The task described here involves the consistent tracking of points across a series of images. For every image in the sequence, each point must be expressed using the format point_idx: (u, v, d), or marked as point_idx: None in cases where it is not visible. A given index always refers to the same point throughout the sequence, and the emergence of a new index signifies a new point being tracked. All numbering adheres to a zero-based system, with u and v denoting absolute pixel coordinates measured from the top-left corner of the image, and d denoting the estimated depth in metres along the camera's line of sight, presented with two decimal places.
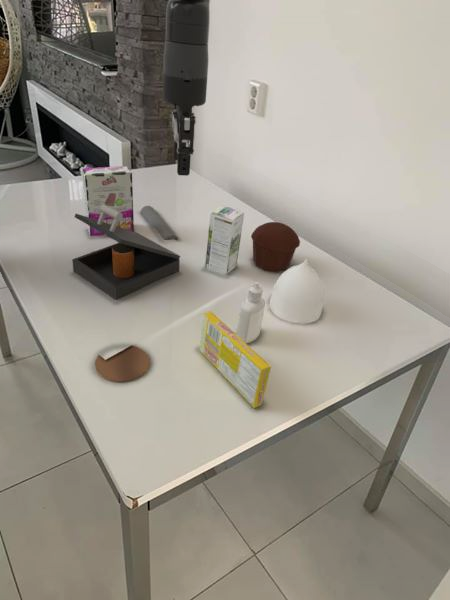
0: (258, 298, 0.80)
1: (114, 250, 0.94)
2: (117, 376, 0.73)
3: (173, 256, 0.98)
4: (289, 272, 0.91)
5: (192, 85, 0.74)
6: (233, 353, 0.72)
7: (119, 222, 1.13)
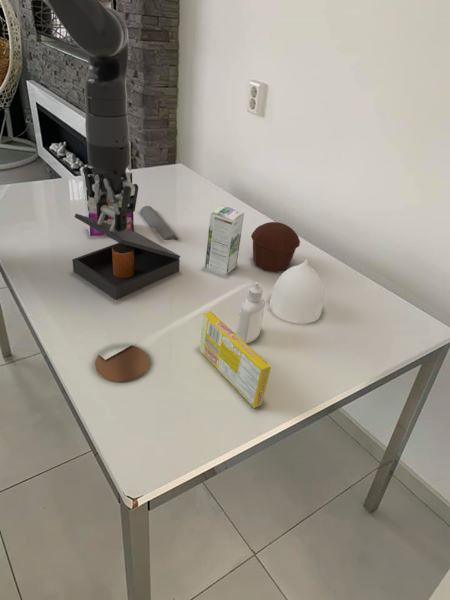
0: (258, 298, 0.80)
1: (114, 250, 0.94)
2: (117, 376, 0.73)
3: (173, 256, 0.98)
4: (289, 272, 0.91)
5: (125, 150, 0.81)
6: (233, 353, 0.72)
7: None
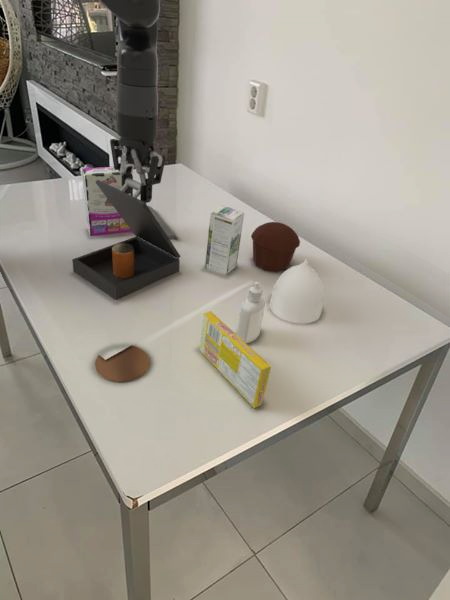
0: (258, 298, 0.80)
1: (114, 250, 0.94)
2: (117, 376, 0.73)
3: (175, 252, 0.98)
4: (289, 272, 0.91)
5: (154, 121, 0.83)
6: (233, 353, 0.72)
7: (119, 222, 1.13)
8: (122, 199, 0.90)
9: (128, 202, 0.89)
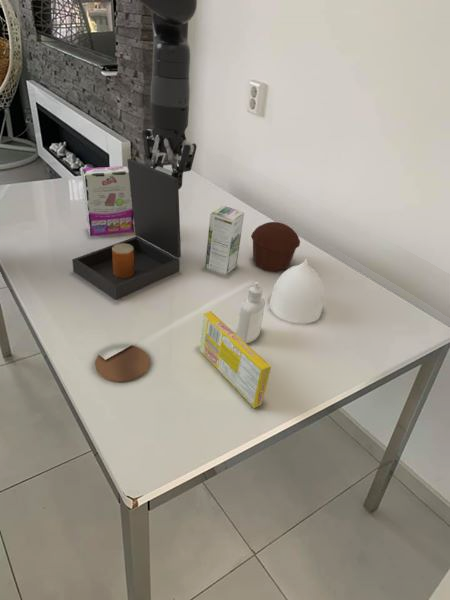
0: (258, 298, 0.80)
1: (114, 250, 0.94)
2: (117, 376, 0.73)
3: (179, 249, 0.98)
4: (289, 272, 0.91)
5: (186, 112, 0.88)
6: (233, 353, 0.72)
7: (119, 222, 1.13)
8: (150, 177, 0.93)
9: (157, 179, 0.92)
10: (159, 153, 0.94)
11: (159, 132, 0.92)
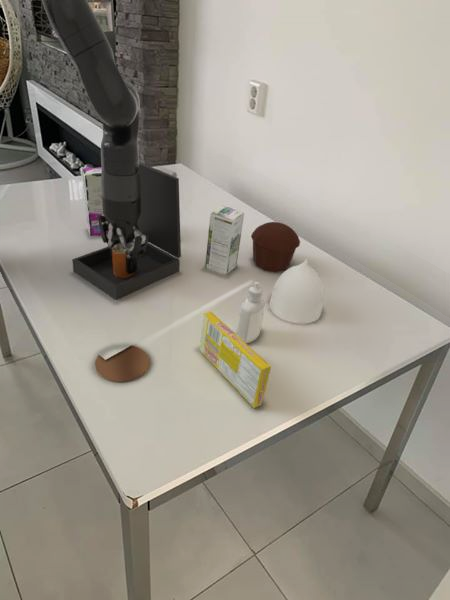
0: (258, 298, 0.80)
1: (114, 250, 0.94)
2: (117, 376, 0.73)
3: (179, 249, 0.99)
4: (289, 272, 0.91)
5: (137, 203, 0.88)
6: (233, 353, 0.72)
7: None
8: (151, 177, 0.93)
9: (158, 179, 0.92)
10: (115, 238, 0.95)
11: (112, 220, 0.92)
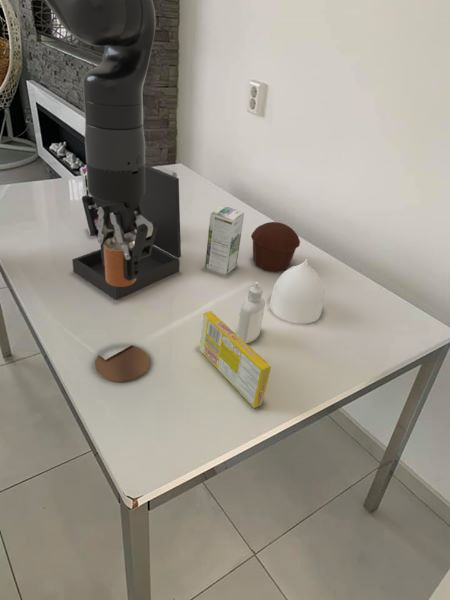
0: (258, 298, 0.80)
1: (107, 246, 0.65)
2: (117, 376, 0.73)
3: (179, 249, 0.99)
4: (289, 272, 0.91)
5: (139, 175, 0.58)
6: (233, 353, 0.72)
7: None
8: (151, 177, 0.93)
9: (158, 179, 0.92)
10: (107, 229, 0.65)
11: (104, 201, 0.62)
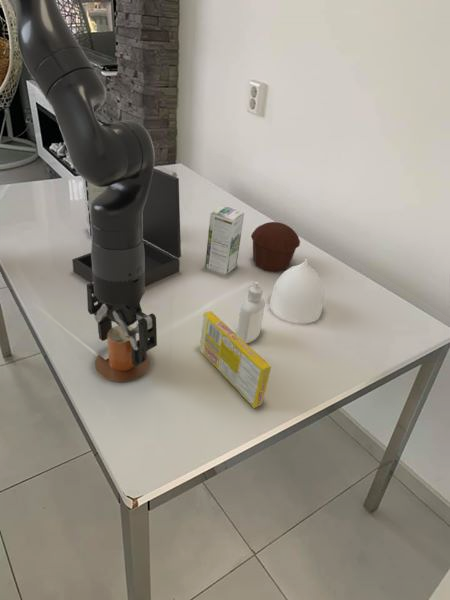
0: (258, 298, 0.80)
1: (110, 338, 0.72)
2: (117, 376, 0.73)
3: (179, 249, 0.99)
4: (289, 272, 0.91)
5: (139, 281, 0.65)
6: (233, 353, 0.72)
7: None
8: None
9: (158, 179, 0.92)
10: (106, 315, 0.73)
11: None
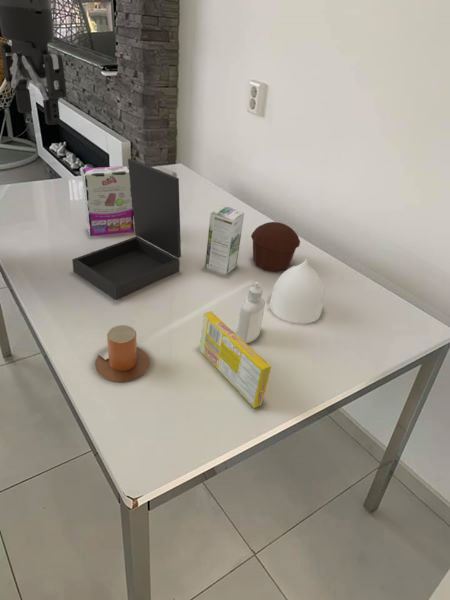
0: (258, 298, 0.80)
1: (110, 338, 0.72)
2: (117, 376, 0.73)
3: (179, 249, 0.99)
4: (289, 272, 0.91)
5: (44, 17, 0.66)
6: (233, 353, 0.72)
7: (119, 222, 1.13)
8: (151, 177, 0.93)
9: (158, 179, 0.92)
10: (20, 76, 0.74)
11: (18, 49, 0.70)
